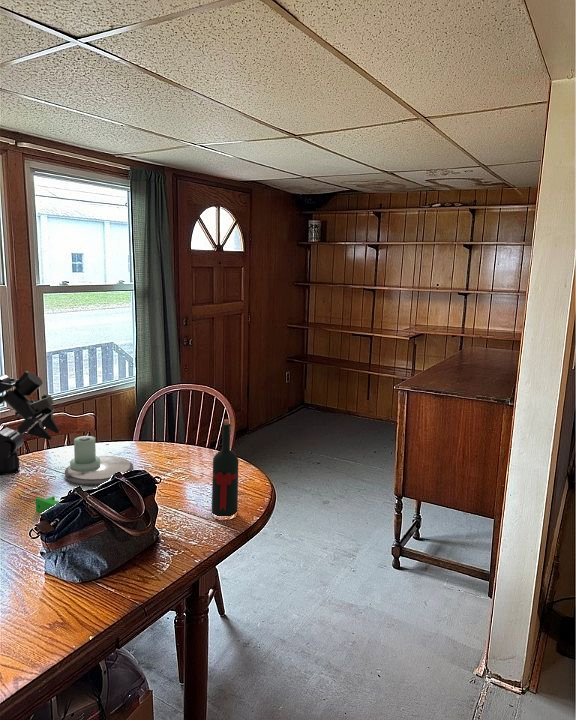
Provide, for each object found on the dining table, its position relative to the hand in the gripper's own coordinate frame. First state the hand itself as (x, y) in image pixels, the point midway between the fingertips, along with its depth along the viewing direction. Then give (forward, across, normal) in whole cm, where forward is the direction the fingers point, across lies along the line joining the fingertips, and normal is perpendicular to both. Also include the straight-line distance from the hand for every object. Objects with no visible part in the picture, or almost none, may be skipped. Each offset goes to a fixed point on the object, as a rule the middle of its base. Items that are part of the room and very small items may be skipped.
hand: (54, 435), depth 180 cm
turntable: (+20, 0, -2) cm, 20 cm away
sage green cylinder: (+15, 0, 0) cm, 15 cm away
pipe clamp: (+18, -32, +2) cm, 37 cm away
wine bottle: (+53, -32, -34) cm, 71 cm away
